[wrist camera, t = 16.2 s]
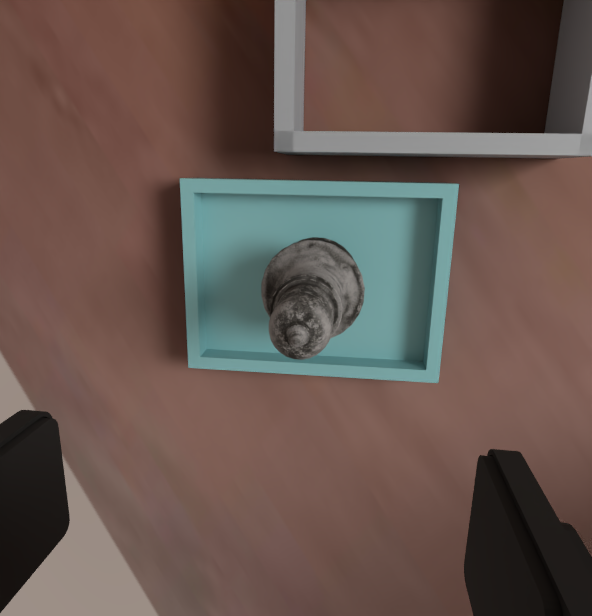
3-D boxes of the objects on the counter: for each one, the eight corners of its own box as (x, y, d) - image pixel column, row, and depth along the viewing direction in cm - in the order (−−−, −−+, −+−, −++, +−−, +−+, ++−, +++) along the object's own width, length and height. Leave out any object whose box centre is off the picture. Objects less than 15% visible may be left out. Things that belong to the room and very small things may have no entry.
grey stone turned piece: (379, 256, 30) (396, 310, 19) (338, 337, 32) (330, 431, 20) (293, 216, 30) (256, 244, 19) (256, 299, 32) (202, 372, 20)
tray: (450, 182, 30) (459, 184, 27) (432, 367, 33) (438, 382, 30) (193, 177, 31) (179, 178, 29) (199, 354, 34) (188, 367, 32)
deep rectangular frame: (592, -62, 26) (647, -116, 21) (558, 158, 29) (599, 155, 24) (288, -53, 27) (275, -101, 22) (286, 154, 30) (273, 151, 25)
